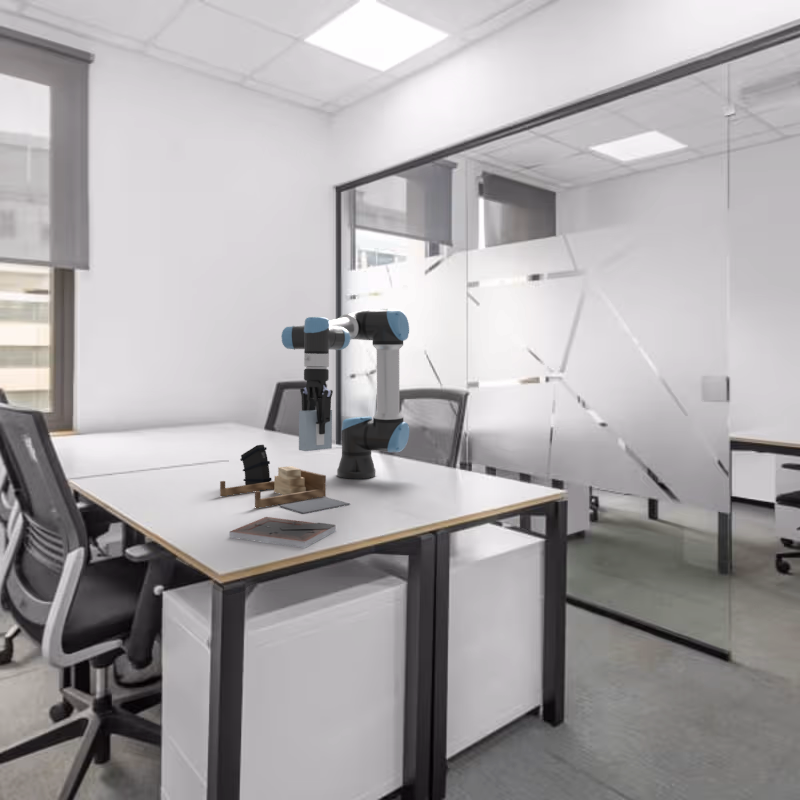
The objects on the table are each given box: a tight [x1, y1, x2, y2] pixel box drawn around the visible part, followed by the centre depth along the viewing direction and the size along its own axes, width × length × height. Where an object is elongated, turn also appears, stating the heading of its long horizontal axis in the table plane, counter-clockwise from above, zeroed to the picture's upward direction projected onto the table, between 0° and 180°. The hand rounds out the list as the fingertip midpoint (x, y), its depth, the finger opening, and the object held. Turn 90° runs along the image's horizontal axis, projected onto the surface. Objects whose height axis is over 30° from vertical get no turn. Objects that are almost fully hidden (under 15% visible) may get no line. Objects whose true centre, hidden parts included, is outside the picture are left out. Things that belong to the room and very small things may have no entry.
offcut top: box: [277, 465, 302, 480], centre depth 208 cm, size 5×7×3 cm
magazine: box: [239, 444, 273, 485], centre depth 219 cm, size 4×13×15 cm, turn 50°
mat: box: [279, 496, 351, 515], centre depth 192 cm, size 18×12×1 cm, turn 135°
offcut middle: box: [273, 475, 305, 489], centre depth 208 cm, size 6×9×3 cm, turn 44°
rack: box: [219, 469, 327, 509], centre depth 204 cm, size 26×22×7 cm
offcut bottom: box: [273, 485, 306, 495], centre depth 209 cm, size 6×10×3 cm, turn 43°
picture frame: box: [228, 516, 337, 549], centre depth 160 cm, size 16×2×22 cm
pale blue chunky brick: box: [298, 409, 333, 452], centre depth 190 cm, size 10×4×12 cm, turn 135°
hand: (315, 443), depth 191 cm, fingers closed on pale blue chunky brick, 3 cm apart
